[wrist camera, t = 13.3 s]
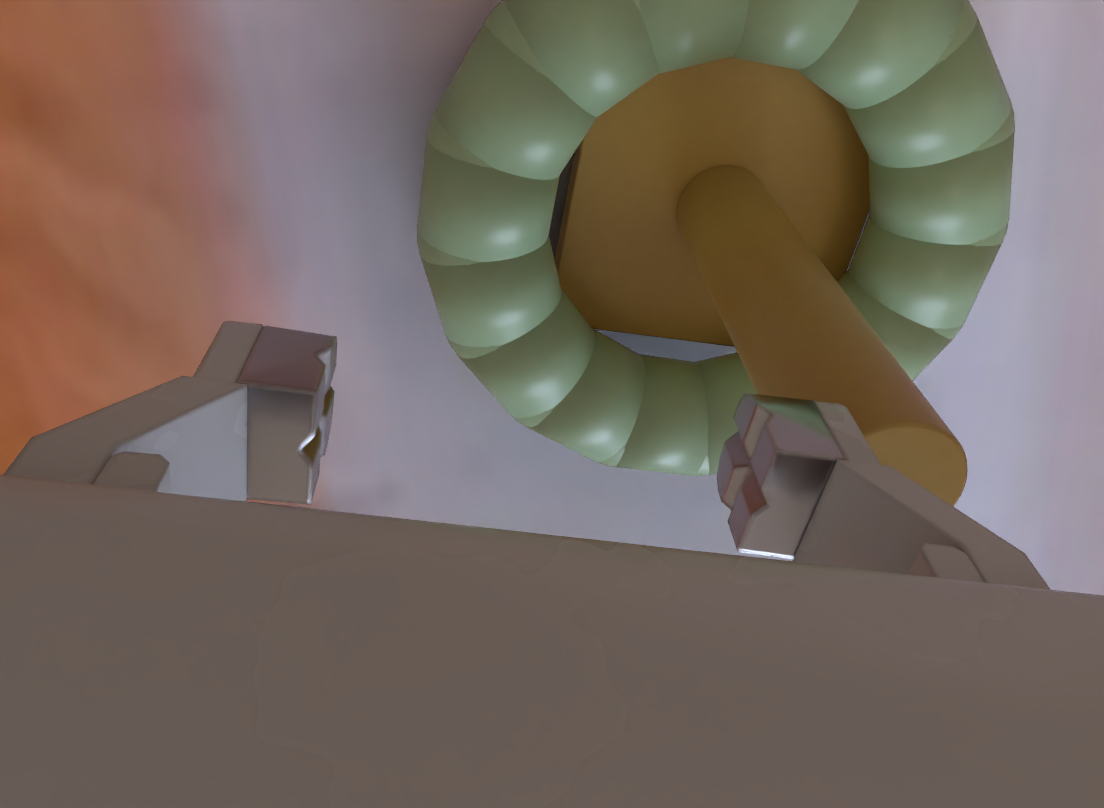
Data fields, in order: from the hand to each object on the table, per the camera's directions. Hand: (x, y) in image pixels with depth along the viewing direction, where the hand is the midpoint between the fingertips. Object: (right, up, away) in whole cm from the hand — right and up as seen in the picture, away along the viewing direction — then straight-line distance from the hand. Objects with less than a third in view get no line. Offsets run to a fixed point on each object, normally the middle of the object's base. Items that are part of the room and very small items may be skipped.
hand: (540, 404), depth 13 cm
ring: (+4, +4, +9) cm, 11 cm away
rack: (+5, +6, +11) cm, 14 cm away
